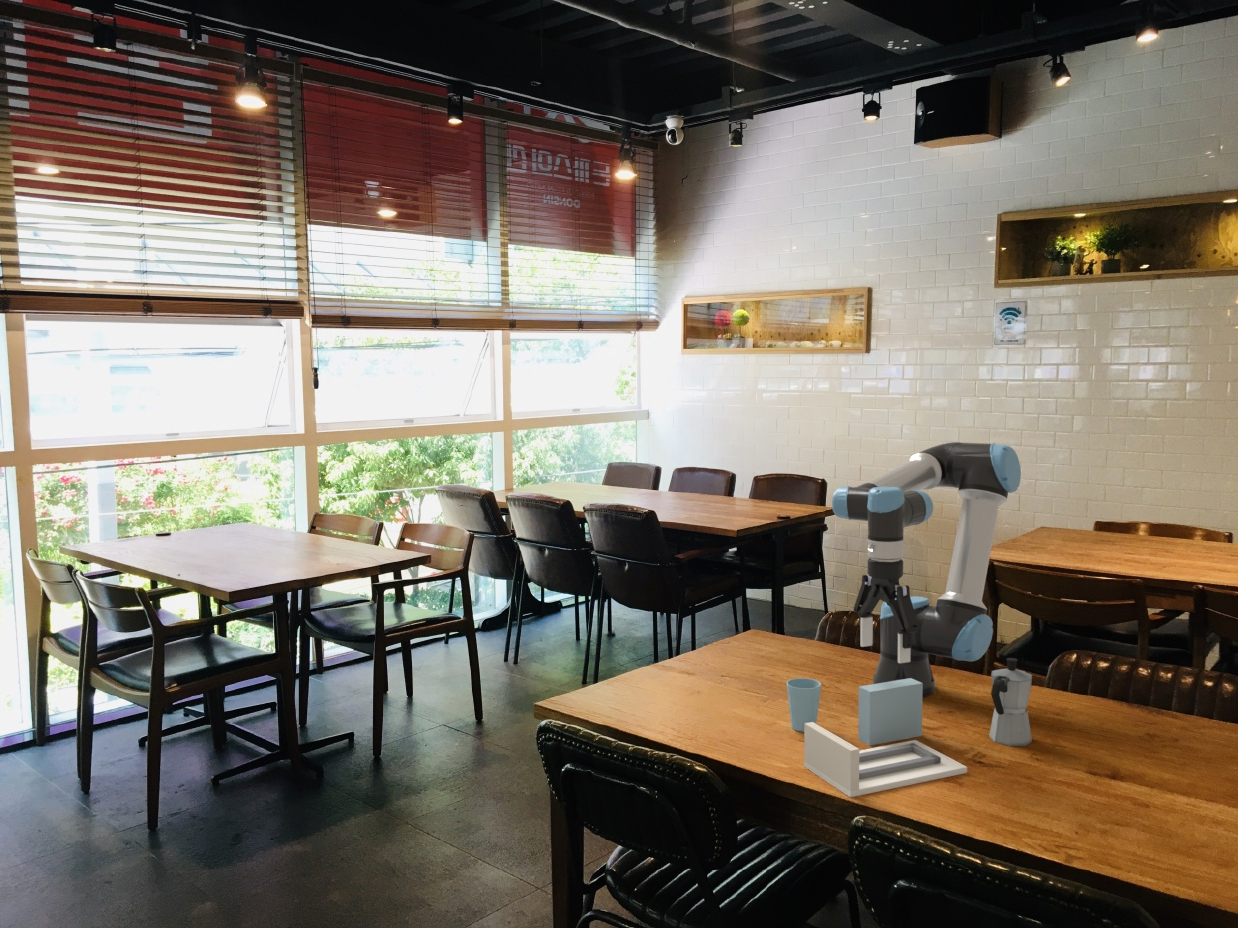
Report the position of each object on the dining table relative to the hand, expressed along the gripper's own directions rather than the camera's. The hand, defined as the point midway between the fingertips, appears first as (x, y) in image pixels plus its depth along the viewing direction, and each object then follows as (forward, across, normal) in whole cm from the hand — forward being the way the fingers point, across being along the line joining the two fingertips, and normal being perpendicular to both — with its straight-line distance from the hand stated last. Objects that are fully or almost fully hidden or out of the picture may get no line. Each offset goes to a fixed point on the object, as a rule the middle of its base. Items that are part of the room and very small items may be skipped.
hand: (884, 653), depth 218 cm
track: (+19, +15, -11) cm, 26 cm away
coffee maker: (+19, +12, +23) cm, 33 cm away
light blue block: (+19, +1, +1) cm, 19 cm away
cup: (+19, -12, -13) cm, 26 cm away
